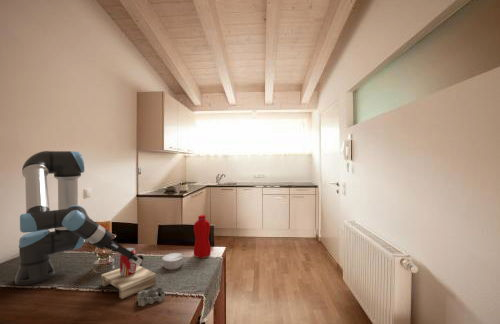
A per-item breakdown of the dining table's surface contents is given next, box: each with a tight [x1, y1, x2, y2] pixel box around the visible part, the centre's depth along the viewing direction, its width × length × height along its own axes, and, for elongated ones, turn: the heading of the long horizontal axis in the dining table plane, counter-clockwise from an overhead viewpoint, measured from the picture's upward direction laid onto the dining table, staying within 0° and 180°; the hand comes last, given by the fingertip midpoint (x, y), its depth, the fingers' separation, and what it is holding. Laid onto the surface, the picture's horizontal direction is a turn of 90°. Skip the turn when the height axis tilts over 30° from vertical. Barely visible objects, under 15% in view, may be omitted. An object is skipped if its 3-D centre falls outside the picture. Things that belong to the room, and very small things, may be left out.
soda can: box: [119, 246, 137, 277], centre depth 117 cm, size 7×7×12 cm
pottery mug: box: [136, 254, 144, 267], centre depth 134 cm, size 12×10×8 cm
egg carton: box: [136, 285, 166, 307], centre depth 104 cm, size 11×8×4 cm
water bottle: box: [193, 214, 212, 259], centre depth 152 cm, size 9×11×25 cm
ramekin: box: [162, 252, 184, 270], centre depth 137 cm, size 11×11×5 cm
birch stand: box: [101, 264, 157, 300], centre depth 117 cm, size 20×16×5 cm
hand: (133, 259), depth 119 cm, fingers open, 13 cm apart
